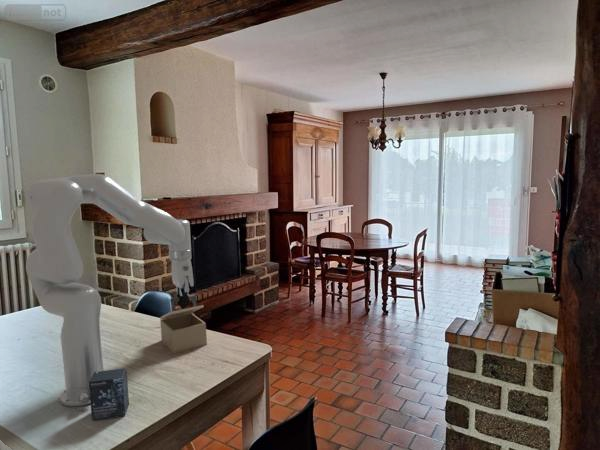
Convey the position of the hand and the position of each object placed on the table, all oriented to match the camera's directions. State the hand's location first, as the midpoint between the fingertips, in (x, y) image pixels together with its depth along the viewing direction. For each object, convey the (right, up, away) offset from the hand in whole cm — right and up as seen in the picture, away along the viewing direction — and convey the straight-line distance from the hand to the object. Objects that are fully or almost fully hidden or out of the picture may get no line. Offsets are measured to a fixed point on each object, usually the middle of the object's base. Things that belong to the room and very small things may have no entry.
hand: (183, 305), depth 143 cm
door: (-1, -3, +2) cm, 4 cm away
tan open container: (-1, -14, +3) cm, 15 cm away
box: (-7, -20, -40) cm, 45 cm away
